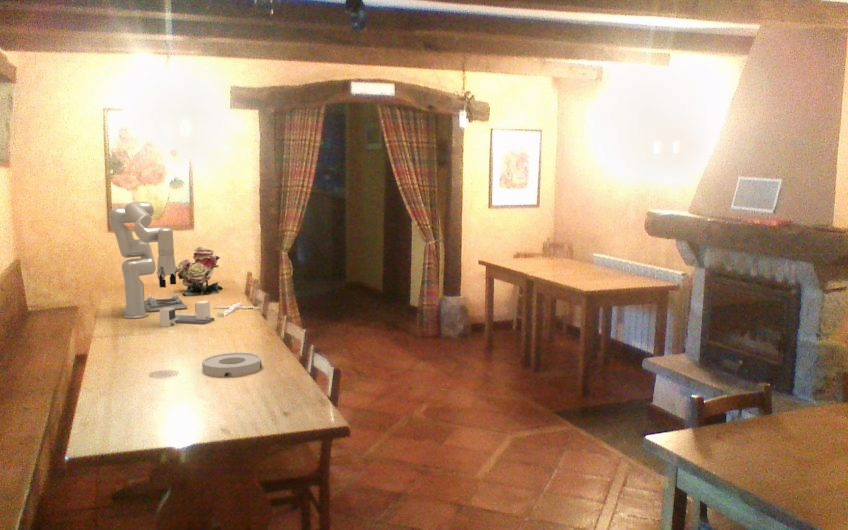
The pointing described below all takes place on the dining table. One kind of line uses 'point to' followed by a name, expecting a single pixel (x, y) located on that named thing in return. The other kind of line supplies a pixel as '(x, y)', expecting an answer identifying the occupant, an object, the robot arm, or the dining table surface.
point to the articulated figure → (232, 309)
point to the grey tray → (164, 304)
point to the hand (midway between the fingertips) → (168, 285)
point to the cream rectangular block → (167, 317)
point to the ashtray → (231, 364)
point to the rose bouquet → (199, 273)
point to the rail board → (193, 321)
